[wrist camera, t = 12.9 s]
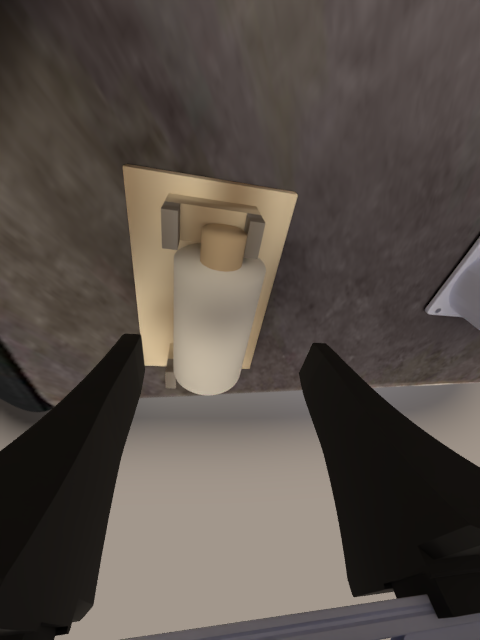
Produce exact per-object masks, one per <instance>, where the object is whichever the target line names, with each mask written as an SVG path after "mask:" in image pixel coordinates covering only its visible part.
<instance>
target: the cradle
mask: <svg viewBox="0 0 480 640" xmlns="http://www.w3.org/2000/svg"><path fill="white" fill-rule="evenodd" d="M123 175H124V184H125V194H126V203H127V212H128V222H129V231H130V241H131V250H132V260H133V269H134V279H135V288H136V298H137V307H138V317H139V326H140V334H141V337H142V346H143V355H144V364H145V365H147V366H166V371H165V377H166V388H176V383H177V379H176V377H175V375H174V370H173V331H174V255H175V253H176V252H177V251H178V250H179V249H181V248H182V247H185V246H187V245H191V244H197V243H201V235H202V227H203V226H205V225H207V224H226V225H231V226H235V227H237V228H240V229H242V230H243V231H245V232H246V233H247V240H246V246H245V251H244V258H252V259H258V258H259V259H261V261H262V262H263V263H264V264H265V267H266V273H265V277H264V281H263V285H262V289H261V293H260V297H259V301H258V305H257V309H256V313H255V317H254V321H253V325H252V329H251V333H250V337H249V341H248V345H247V349H246V353H245V357H244V360H243V364H242V368H241V369H249V368H250V364H251V361H252V357H253V354H254V350H255V347H256V343H257V339H258V336H259V332H260V329H261V325H262V322H263V318H264V314H265V311H266V307H267V304H268V300H269V296H270V293H271V289H272V286H273V282H274V279H275V275H276V271H277V268H278V264H279V261H280V257H281V254H282V250H283V246H284V243H285V239H286V236H287V232H288V228H289V225H290V221H291V218H292V214H293V211H294V207H295V203H296V200H297V196H298V194H296V193H295V192H293V191H287V190H281V189H275V188H269V187H263V186H257V185H251V184H245V183H239V182H233V181H227V180H221V179H215V178H209V177H203V176H197V175H191V174H185V173H179V172H173V171H167V170H161V169H155V168H149V167H143V166H137V165H131V164H125V165H123Z"/></svg>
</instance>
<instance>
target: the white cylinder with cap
mask: <svg viewBox="0 0 480 640" xmlns="http://www.w3.org/2000/svg"><path fill="white" fill-rule="evenodd" d="M246 240H247V233H246V232H245V231H243V230H242V229H240V228H237V227H235V226H231V225H226V224H207V225H205V226H203V227H202V235H201V243H197V244H191V245H187V246H185V247H182V248H181V249H179V250H178V251H177V252H176V253H175V255H174V331H173V370H174V375H175V377H176V379H177V381H178V382H179V383H180V385H181V386H183V387H184V388H185V389H187V390H189V391H191V392H193V393H196V394H200V395H216V394H220V393H223V392H225V391H227V390H229V389H230V388H232V387H233V386H234V385H235V384H236V382H237V381H238V379H239V376H240V372H241V368H242V364H243V360H244V357H245V353H246V349H247V345H248V341H249V337H250V333H251V329H252V325H253V321H254V317H255V313H256V309H257V305H258V301H259V297H260V293H261V289H262V285H263V281H264V277H265V273H266V267H265V264H264V263H263V262H262V261H261V259H259V258H258V259H252V258H244V251H245V246H246Z"/></svg>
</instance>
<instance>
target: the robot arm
mask: <svg viewBox="0 0 480 640" xmlns="http://www.w3.org/2000/svg"><path fill="white" fill-rule="evenodd" d="M425 311H426V313H428V314H430V315H442V316H455V317H463V318H464V319H466V320H467V321H468V322H469V323H471V324H472V325H473V326H475V327H476V328H477V329H478V330H480V237H479V238H478V240H477V241H476V242H475V244H474V245H473V246H472V248H471V249H470V250H469V252H468V253H467V254H466V256H465V257H464V258H463V259H462V261H461V262H460V263H459V265H458V266H457V267H456V269H455V270H454V271H453V273H452V274H451V275H450V277H449V278H448V279H447V281H446V282H445V283H444V285H443V286H442V287H441V289H440V290H439V291H438V293H437V294H436V295H435V296H434V298H433V299H432V300H431V302H430V303H429V304H428V306H427V307H426V309H425ZM144 373H145V364H144V355H143V346H142V337H141V334H124V335H122V336H121V338H120V339H119V340H118V341H117V343H116V344H115V345H114V346H113V347H112V349H111V350H110V351H109V352H108V353H107V354H106V355H105V357H104V358H103V359H102V360H101V361H100V362H99V363H98V364H97V365H96V367H95V368H94V369H93V370H92V371H91V372H90V373H89V374H88V375H87V376H86V377H85V378H84V379H83V380H82V381H81V382H80V383H79V384H78V385H77V386H76V387H75V388H74V389H73V390H72V391H71V392H70V393H69V394H68V395H67V396H66V397H65V398H64V399H63V400H62V401H61V402H59V403H58V404H57V405H56V406H55V407H54V408H53V409H52V410H51V411H49V412H48V413H47V414H46V415H45V416H44V417H42V418H41V419H40V420H39V421H38V422H37V423H35V424H34V425H33V426H32V427H30V428H29V429H28V430H27V431H25V432H24V433H23V434H22V435H20V436H19V437H18V438H17V439H16V440H14V441H13V442H12V443H10V444H9V445H8V446H6V447H5V448H4V449H3V450H1V451H0V640H54V637H55V636H57V635H63V634H68V633H69V631H70V628H71V624H72V622H77V621H80V620H81V619H82V618H83V617H84V616H85V615H86V614H87V612H88V611H89V610H90V609H91V607H92V606H93V604H94V598H95V592H96V586H97V580H98V574H99V568H100V562H101V556H102V551H103V545H104V540H105V535H106V529H107V523H108V518H109V513H110V508H111V503H112V498H113V493H114V488H115V483H116V479H117V474H118V469H119V465H120V460H121V456H122V453H123V449H124V446H125V442H126V439H127V436H128V433H129V430H130V426H131V423H132V420H133V417H134V414H135V410H136V407H137V404H138V400H139V397H140V394H141V389H142V384H143V379H144ZM299 376H300V381H301V386H302V390H303V395H304V398H305V401H306V404H307V407H308V409H309V413H310V415H311V418H312V421H313V424H314V427H315V430H316V432H317V435H318V438H319V441H320V444H321V447H322V450H323V453H324V457H325V462H326V466H327V470H328V474H329V478H330V482H331V487H332V491H333V496H334V500H335V506H336V510H337V516H338V521H339V527H340V532H341V538H342V545H343V551H344V557H345V564H346V571H347V578H348V582H349V585H350V589H351V592H352V595H353V597H358V596H366V595H373V594H380V593H387V592H393V591H394V592H395V595H396V597H397V599H392V600H385V601H378V602H372V603H365V604H358V605H351V606H344V607H338V608H331V609H324V610H317V611H310V612H304V613H297V614H290V615H284V616H277V617H270V618H263V619H256V620H250V621H243V622H236V623H229V624H223V625H216V626H209V627H202V628H196V629H189V630H182V631H175V632H169V633H162V634H155V635H148V636H142V637H135V638H128V639H121V640H380V639H386V638H391V637H392V638H391V640H480V467H478V466H476V465H475V464H473V463H471V462H470V461H468V460H467V459H465V458H464V457H462V456H460V455H459V454H457V453H456V452H454V451H453V450H451V449H449V448H448V447H447V446H445V445H444V444H442V443H441V442H439V441H438V440H436V439H435V438H434V437H432V436H431V435H429V434H428V433H426V432H425V431H424V430H422V429H421V428H420V427H418V426H417V425H416V424H414V423H413V422H412V421H410V420H409V419H408V418H407V417H405V416H404V415H403V414H401V413H400V412H399V411H398V410H396V409H395V408H394V407H393V406H392V405H390V404H389V403H388V402H387V401H386V400H385V399H384V398H382V397H381V396H380V395H379V394H378V393H377V392H376V391H374V390H373V389H372V388H371V387H370V386H369V385H368V384H367V383H366V382H365V381H364V380H363V379H362V378H361V377H360V376H359V375H358V374H357V373H356V372H354V371H353V370H352V369H351V368H350V367H349V366H348V365H347V364H346V363H345V362H344V361H343V360H342V359H341V358H340V357H339V356H338V355H337V354H336V353H335V352H334V351H333V350H332V349H331V348H330V347H329V346H328V345H327V344H325V343H313V344H312V346H311V348H310V350H309V353H308V355H307V357H306V359H305V361H304V364H303V366H302V368H301V370H300V372H299Z"/></svg>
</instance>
